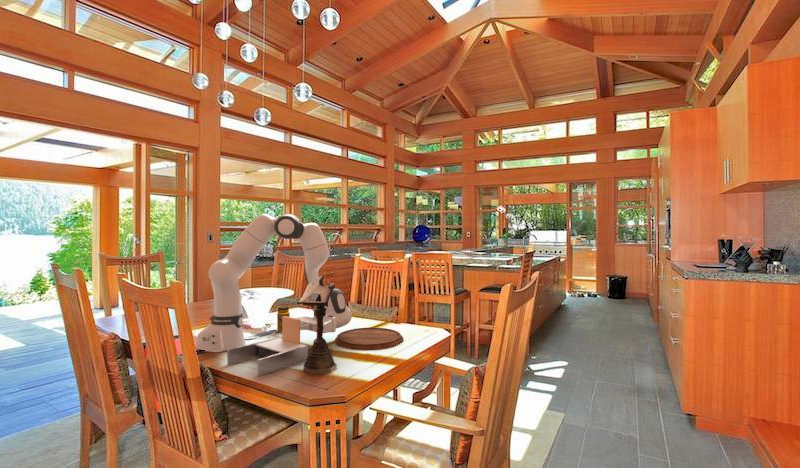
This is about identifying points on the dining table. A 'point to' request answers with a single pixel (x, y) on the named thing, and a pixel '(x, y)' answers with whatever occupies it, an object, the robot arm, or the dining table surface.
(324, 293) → the dark ornate pedestal stand
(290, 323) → the sliding cover
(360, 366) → the dining table surface
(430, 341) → the dining table surface
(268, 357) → the grey metal tray
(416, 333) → the dining table surface
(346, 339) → the cutting board
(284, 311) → the condiment
